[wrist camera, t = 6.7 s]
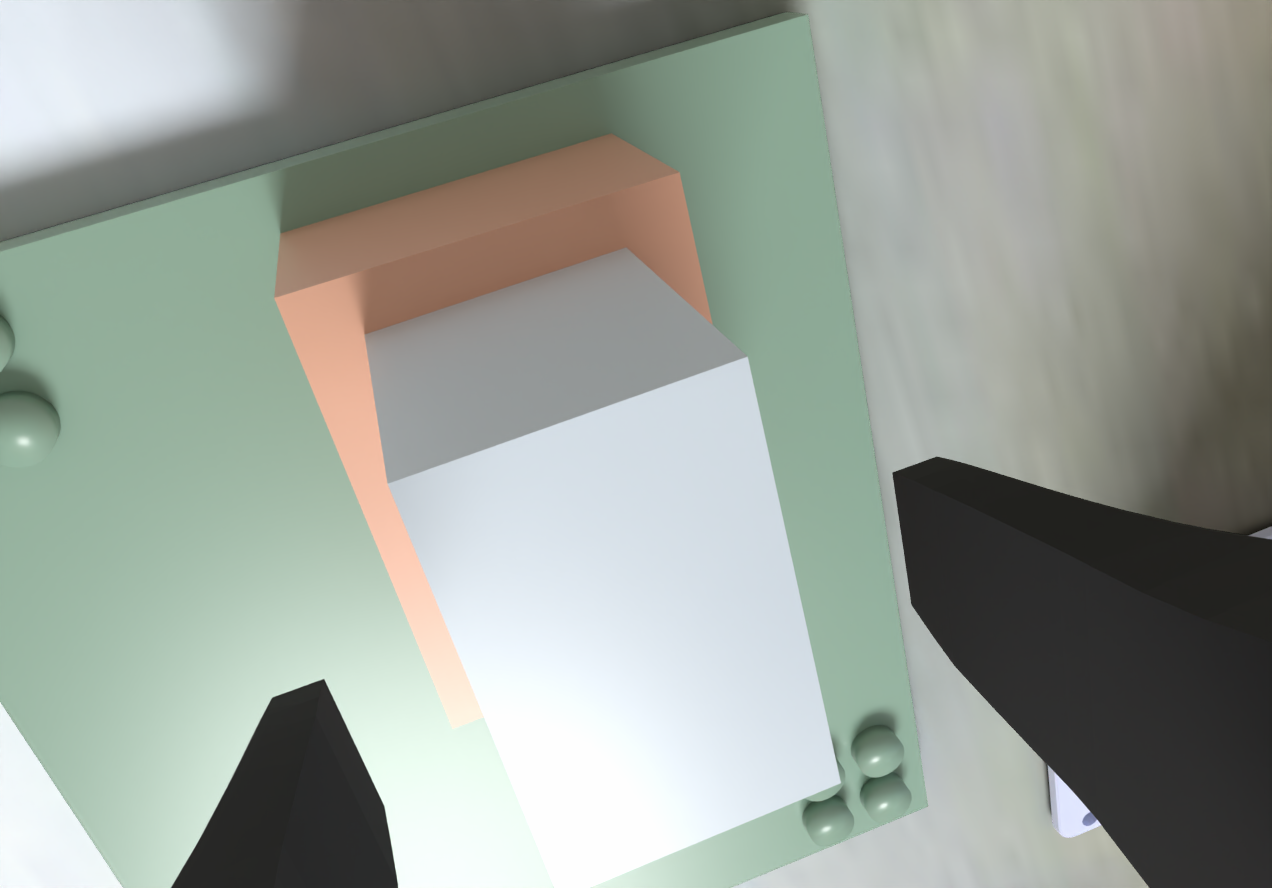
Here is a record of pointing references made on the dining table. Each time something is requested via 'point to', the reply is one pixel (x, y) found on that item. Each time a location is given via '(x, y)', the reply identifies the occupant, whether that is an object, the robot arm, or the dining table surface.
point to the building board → (328, 507)
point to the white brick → (606, 559)
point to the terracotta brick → (450, 274)
